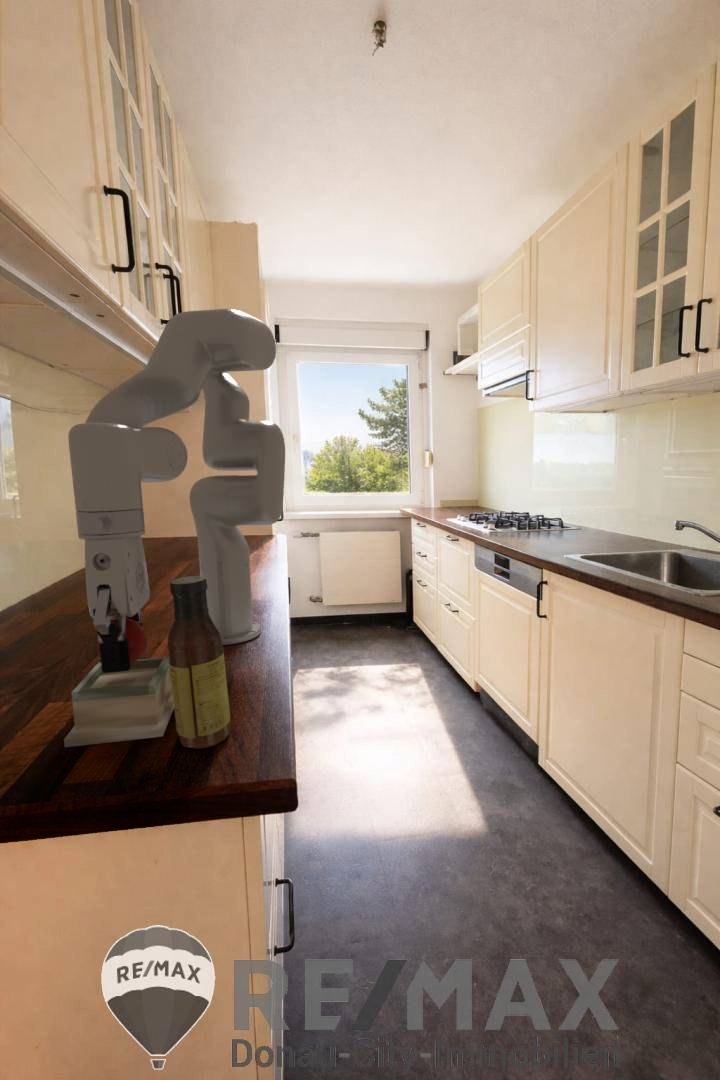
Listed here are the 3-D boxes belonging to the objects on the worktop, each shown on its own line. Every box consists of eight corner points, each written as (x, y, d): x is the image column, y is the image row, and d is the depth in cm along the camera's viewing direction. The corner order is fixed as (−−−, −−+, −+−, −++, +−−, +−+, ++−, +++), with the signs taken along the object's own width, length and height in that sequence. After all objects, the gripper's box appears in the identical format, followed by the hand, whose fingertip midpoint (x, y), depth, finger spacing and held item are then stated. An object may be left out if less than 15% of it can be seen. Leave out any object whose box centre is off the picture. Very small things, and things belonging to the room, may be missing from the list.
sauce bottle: (236, 723, 61) (227, 572, 59) (224, 751, 55) (213, 584, 52) (184, 725, 61) (173, 573, 58) (166, 753, 55) (153, 585, 52)
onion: (100, 682, 59) (94, 620, 58) (99, 666, 64) (93, 609, 63) (151, 672, 62) (146, 612, 60) (146, 657, 67) (141, 602, 65)
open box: (99, 700, 68) (95, 659, 67) (180, 693, 70) (177, 652, 69) (64, 747, 57) (59, 698, 56) (162, 736, 59) (158, 688, 58)
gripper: (123, 531, 52) (137, 686, 55) (158, 517, 69) (168, 636, 72) (48, 534, 51) (66, 693, 54) (102, 518, 68) (114, 640, 70)
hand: (124, 659), depth 63 cm, fingers closed on onion, 5 cm apart
